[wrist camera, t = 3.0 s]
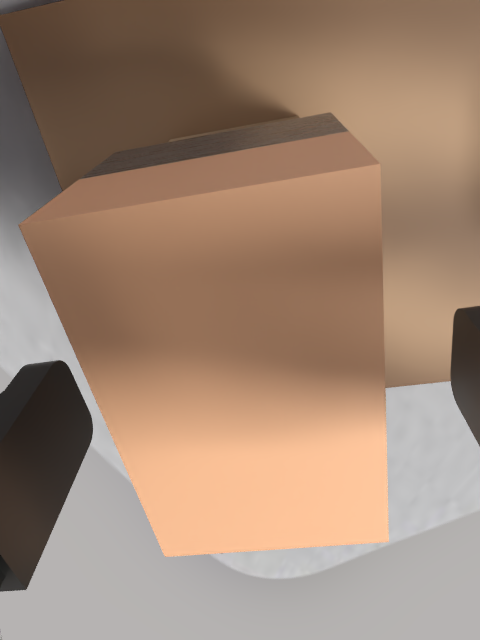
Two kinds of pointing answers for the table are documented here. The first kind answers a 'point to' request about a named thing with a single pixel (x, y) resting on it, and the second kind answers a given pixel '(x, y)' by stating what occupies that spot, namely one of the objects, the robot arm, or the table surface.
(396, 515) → the table surface
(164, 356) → the cover
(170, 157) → the housing base
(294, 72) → the twin stand
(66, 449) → the robot arm
